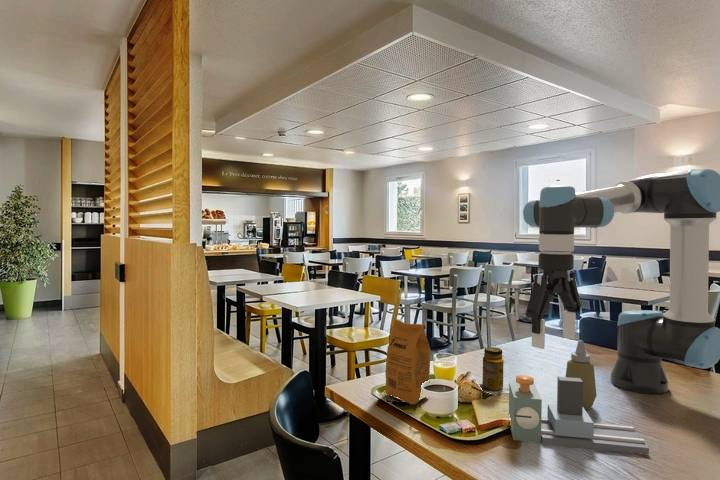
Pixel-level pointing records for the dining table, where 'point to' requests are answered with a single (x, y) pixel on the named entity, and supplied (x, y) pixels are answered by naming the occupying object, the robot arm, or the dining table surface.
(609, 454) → the dining table surface
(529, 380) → the button
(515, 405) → the gauge cabinet
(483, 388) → the condiment
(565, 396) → the carriage
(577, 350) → the squeeze bottle
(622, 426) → the rail bed
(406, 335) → the coffee package
